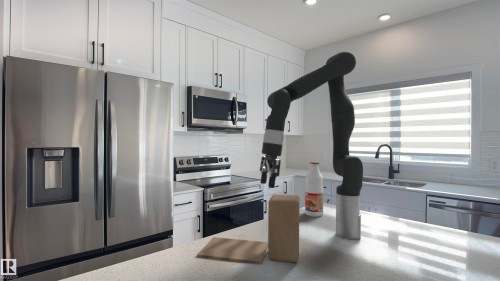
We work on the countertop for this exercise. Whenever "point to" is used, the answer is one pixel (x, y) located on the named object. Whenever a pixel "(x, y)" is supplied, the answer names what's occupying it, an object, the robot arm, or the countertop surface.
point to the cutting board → (234, 250)
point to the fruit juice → (314, 191)
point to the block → (283, 228)
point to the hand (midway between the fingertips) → (267, 185)
